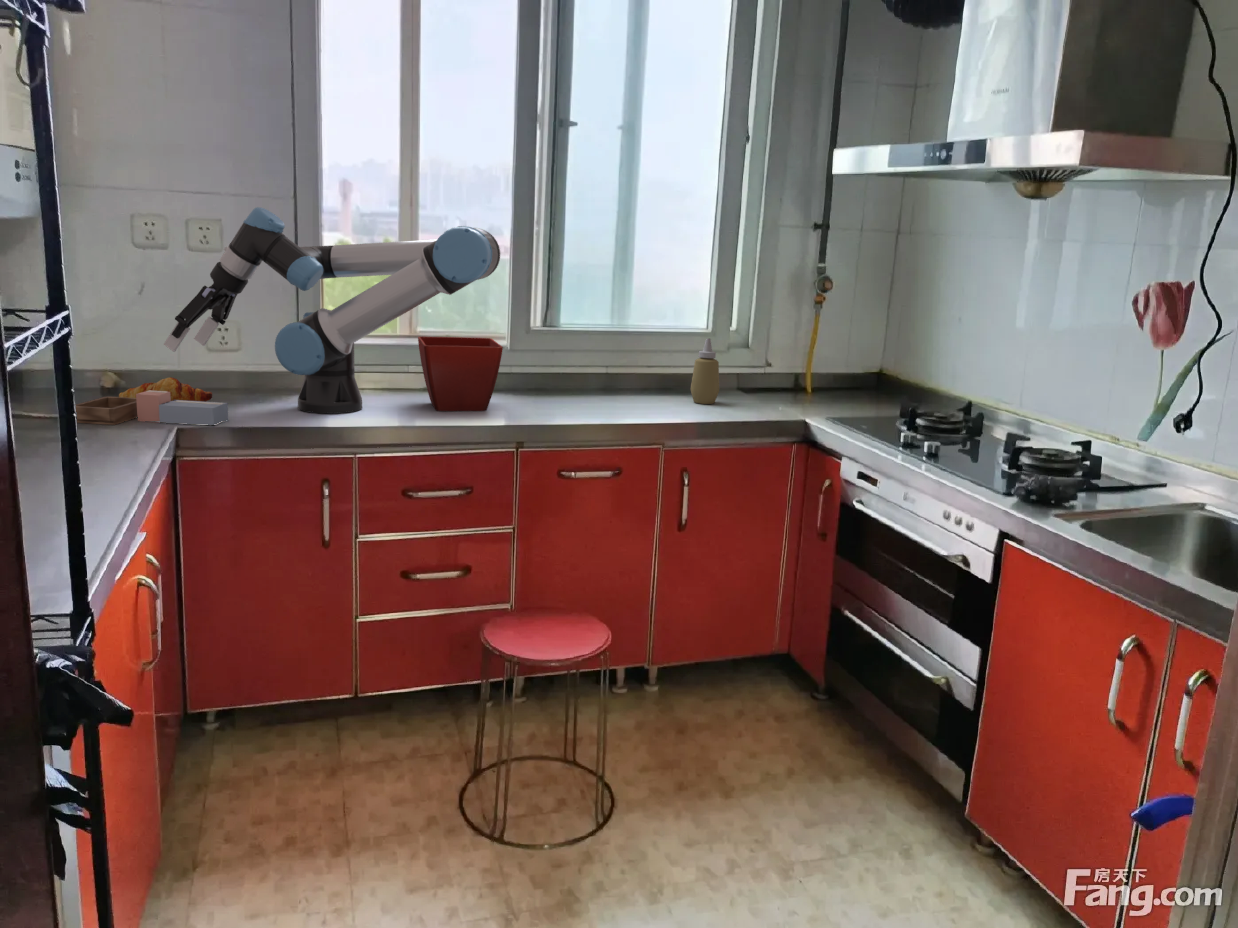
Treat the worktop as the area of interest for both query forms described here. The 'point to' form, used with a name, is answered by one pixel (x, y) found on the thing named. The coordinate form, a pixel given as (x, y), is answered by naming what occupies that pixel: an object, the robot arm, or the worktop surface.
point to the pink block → (150, 404)
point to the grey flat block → (193, 412)
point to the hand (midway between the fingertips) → (184, 345)
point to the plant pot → (460, 371)
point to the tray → (107, 410)
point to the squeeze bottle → (705, 376)
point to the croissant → (170, 390)
